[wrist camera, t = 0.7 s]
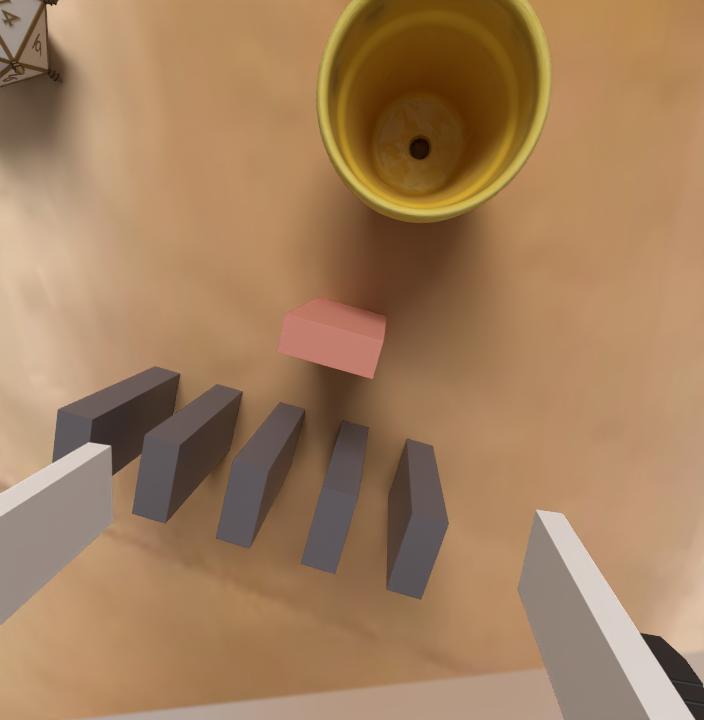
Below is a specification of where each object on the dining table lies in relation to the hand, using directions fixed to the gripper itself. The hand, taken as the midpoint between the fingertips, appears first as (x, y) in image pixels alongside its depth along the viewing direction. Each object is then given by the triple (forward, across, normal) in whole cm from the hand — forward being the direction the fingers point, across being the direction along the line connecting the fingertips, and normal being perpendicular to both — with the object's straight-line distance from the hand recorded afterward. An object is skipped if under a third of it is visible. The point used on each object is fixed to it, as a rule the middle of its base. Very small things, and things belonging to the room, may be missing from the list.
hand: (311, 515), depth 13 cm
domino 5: (+19, 0, -7) cm, 20 cm away
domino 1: (+19, -15, -5) cm, 25 cm away
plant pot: (+20, +2, +15) cm, 25 cm away
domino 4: (+19, -1, +3) cm, 20 cm away
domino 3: (+19, -5, -6) cm, 21 cm away
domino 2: (+19, -10, -5) cm, 22 cm away
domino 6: (+19, +4, -8) cm, 21 cm away
